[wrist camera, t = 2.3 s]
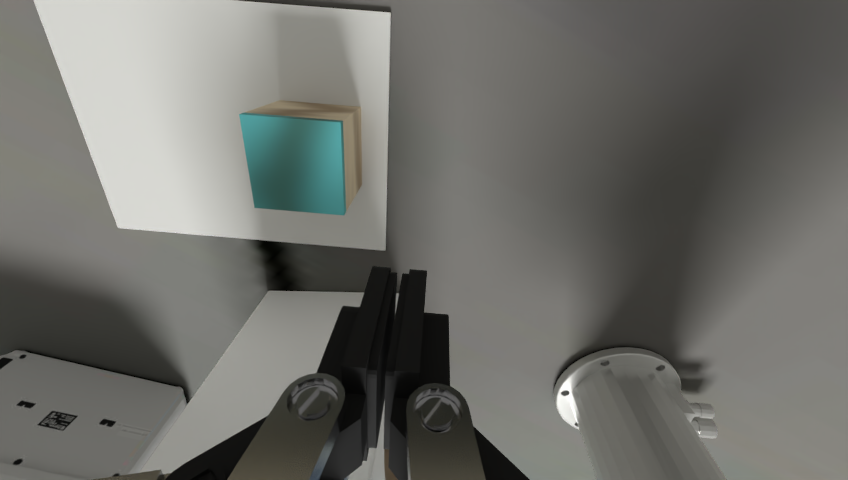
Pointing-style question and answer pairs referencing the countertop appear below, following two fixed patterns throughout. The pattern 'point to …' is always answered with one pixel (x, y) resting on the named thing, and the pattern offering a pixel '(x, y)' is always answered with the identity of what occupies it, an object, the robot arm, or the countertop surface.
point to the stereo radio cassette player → (78, 419)
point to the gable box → (262, 378)
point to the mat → (218, 107)
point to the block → (303, 156)
